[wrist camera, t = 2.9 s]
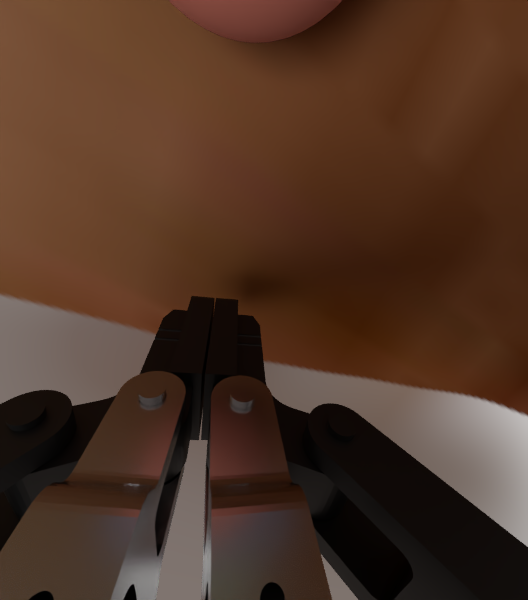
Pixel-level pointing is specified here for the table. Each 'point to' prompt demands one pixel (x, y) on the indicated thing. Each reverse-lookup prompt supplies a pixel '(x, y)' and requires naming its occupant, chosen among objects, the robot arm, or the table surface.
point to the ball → (255, 17)
